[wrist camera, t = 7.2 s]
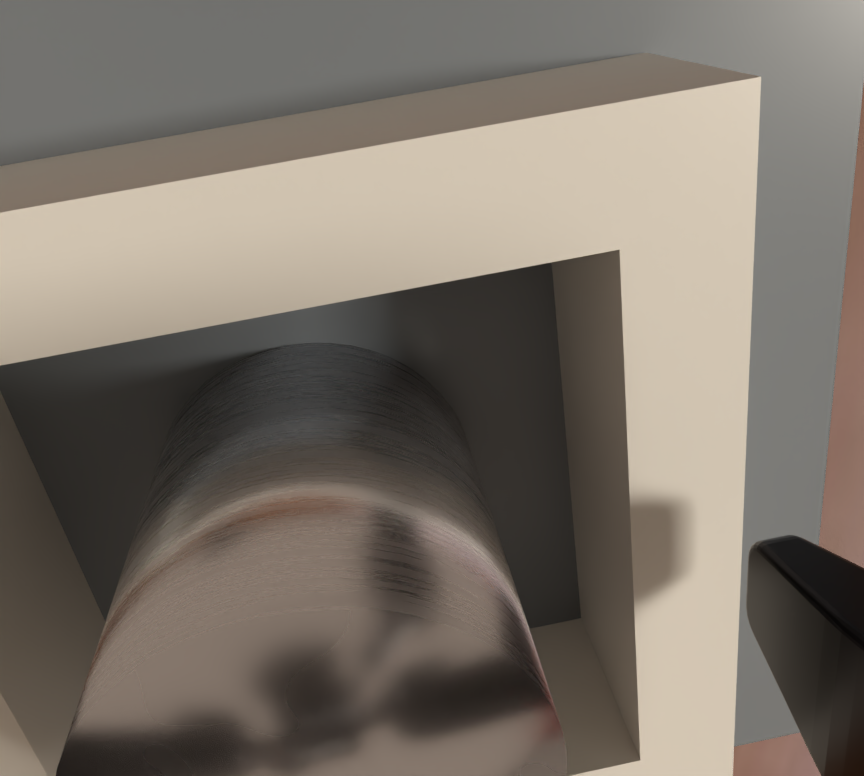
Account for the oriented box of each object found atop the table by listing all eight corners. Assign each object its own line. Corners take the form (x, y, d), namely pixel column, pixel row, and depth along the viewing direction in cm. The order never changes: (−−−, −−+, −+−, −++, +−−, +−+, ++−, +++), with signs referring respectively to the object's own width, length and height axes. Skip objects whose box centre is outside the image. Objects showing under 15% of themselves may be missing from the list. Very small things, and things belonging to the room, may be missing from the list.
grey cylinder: (448, 314, 10) (546, 559, 6) (487, 570, 11) (582, 895, 7) (115, 377, 9) (-39, 679, 5) (209, 628, 11) (149, 992, 7)
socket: (848, -257, 8) (1142, -389, 5) (776, 696, 15) (891, 873, 12) (-573, -29, 8) (-1133, -38, 5) (9, 861, 14) (-72, 1091, 11)
